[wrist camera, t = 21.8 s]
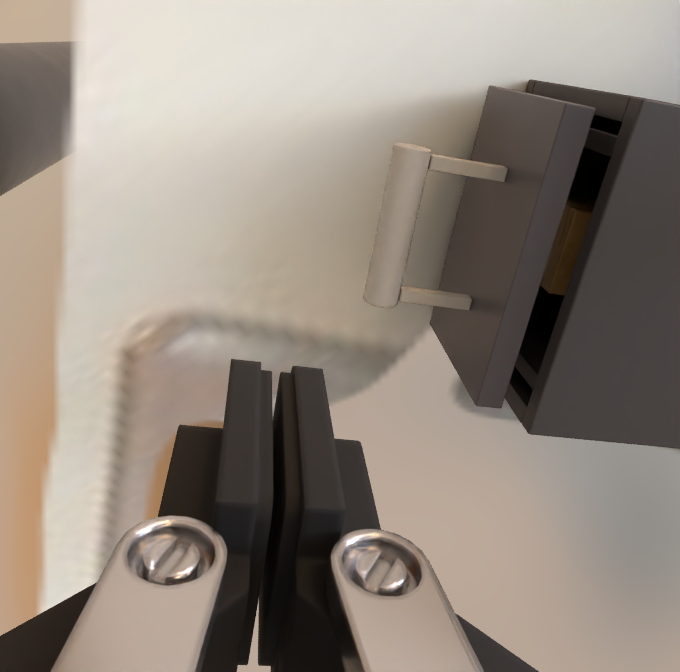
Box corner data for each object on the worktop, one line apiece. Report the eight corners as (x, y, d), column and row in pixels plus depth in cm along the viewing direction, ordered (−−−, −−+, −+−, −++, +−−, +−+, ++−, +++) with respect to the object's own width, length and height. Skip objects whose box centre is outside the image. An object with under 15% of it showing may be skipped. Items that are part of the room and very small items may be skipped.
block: (518, 266, 34) (548, 293, 30) (541, 190, 32) (575, 210, 29) (588, 276, 34) (626, 304, 31) (614, 202, 33) (656, 223, 29)
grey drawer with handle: (341, 313, 35) (363, 395, 27) (387, 66, 30) (431, 77, 22) (664, 352, 38) (769, 436, 30) (755, 135, 33) (909, 166, 25)
